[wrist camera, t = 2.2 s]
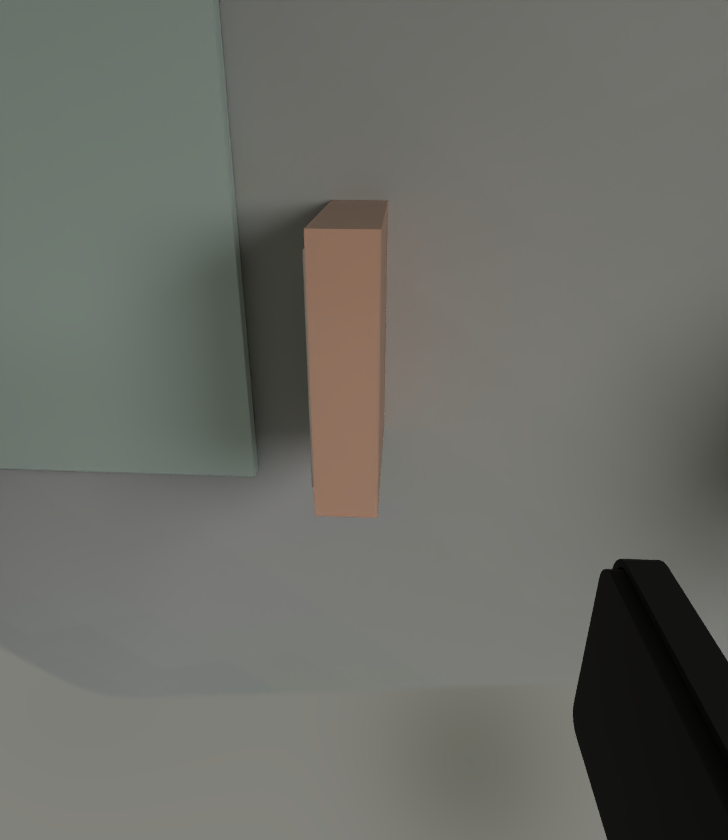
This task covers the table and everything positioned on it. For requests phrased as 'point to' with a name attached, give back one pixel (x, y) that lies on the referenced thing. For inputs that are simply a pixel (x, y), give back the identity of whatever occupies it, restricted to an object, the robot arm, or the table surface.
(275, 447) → the table surface
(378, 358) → the tile
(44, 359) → the mat
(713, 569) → the table surface
